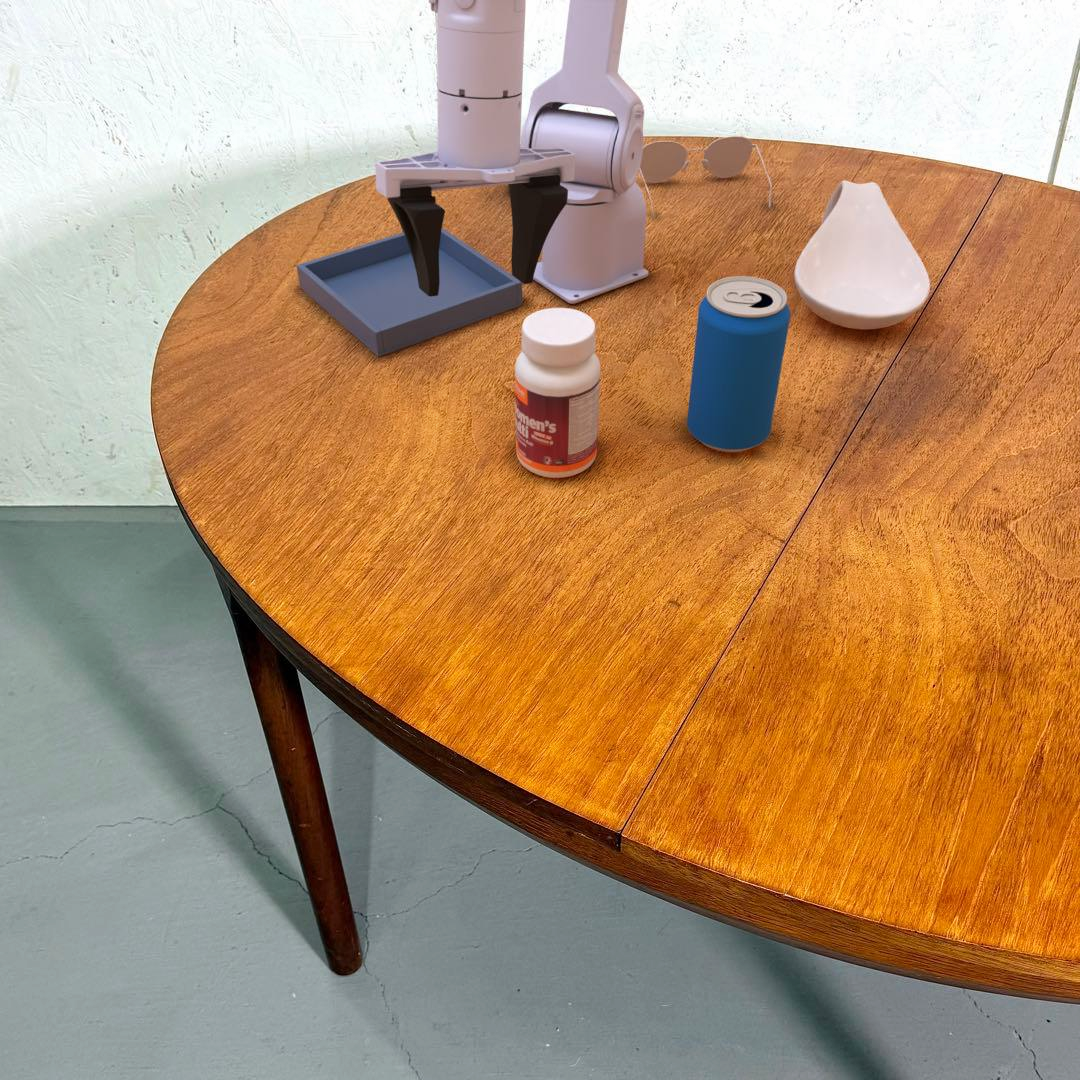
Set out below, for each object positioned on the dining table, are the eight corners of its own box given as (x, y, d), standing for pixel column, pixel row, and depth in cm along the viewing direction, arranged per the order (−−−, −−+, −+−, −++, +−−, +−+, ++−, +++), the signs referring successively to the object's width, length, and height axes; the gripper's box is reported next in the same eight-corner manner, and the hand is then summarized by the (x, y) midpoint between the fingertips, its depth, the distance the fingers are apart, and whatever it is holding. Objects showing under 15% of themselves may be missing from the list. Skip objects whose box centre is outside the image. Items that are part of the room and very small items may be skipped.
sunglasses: (750, 175, 120) (758, 134, 116) (772, 218, 114) (781, 176, 111) (630, 184, 118) (634, 142, 114) (646, 228, 113) (651, 186, 109)
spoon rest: (928, 353, 91) (949, 277, 87) (790, 343, 93) (803, 268, 88) (899, 231, 109) (915, 162, 104) (783, 224, 110) (793, 156, 105)
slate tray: (436, 244, 107) (435, 222, 106) (522, 305, 98) (522, 281, 96) (300, 288, 101) (296, 264, 99) (378, 357, 92) (375, 332, 90)
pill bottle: (499, 459, 81) (494, 328, 73) (551, 422, 84) (551, 294, 77) (562, 491, 78) (564, 358, 70) (613, 452, 81) (620, 322, 74)
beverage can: (767, 462, 80) (791, 322, 72) (681, 453, 81) (696, 313, 73) (771, 414, 85) (794, 277, 77) (690, 405, 86) (704, 269, 78)
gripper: (400, 108, 66) (404, 317, 73) (602, 97, 72) (587, 291, 79) (361, 86, 71) (369, 283, 78) (553, 77, 77) (543, 261, 84)
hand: (476, 285), depth 79 cm, fingers open, 7 cm apart
